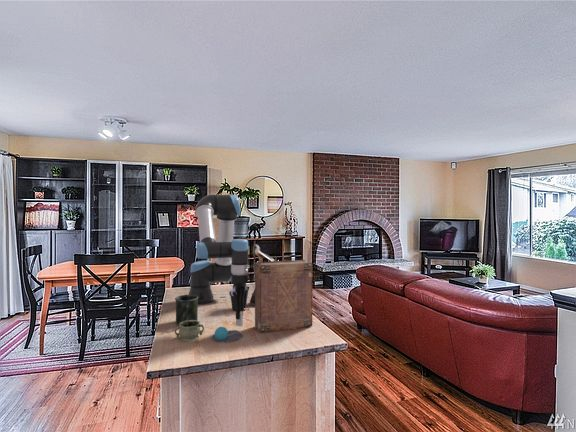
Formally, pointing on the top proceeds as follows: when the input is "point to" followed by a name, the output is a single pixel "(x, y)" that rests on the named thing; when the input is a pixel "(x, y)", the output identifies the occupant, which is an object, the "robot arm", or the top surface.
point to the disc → (230, 336)
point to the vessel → (189, 330)
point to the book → (283, 295)
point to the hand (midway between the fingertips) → (239, 325)
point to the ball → (221, 333)
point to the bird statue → (261, 256)
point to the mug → (186, 308)
